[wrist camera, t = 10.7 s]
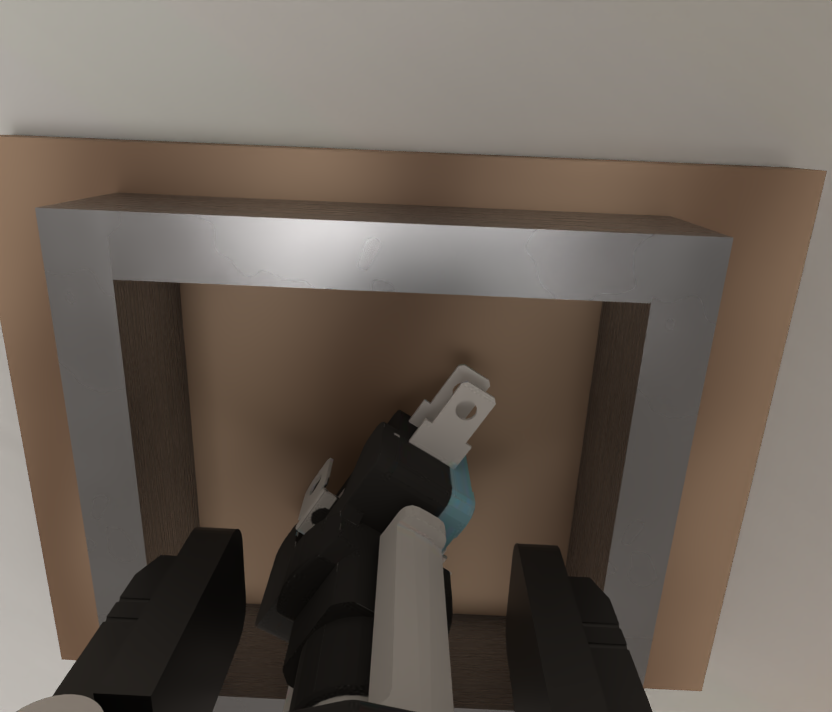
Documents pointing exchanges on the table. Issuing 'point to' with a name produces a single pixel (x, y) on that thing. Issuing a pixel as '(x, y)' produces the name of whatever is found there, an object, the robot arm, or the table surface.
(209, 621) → the robot arm
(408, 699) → the push button
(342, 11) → the table surface
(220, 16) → the table surface
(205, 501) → the mounting board
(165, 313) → the socket
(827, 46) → the table surface
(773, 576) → the table surface
